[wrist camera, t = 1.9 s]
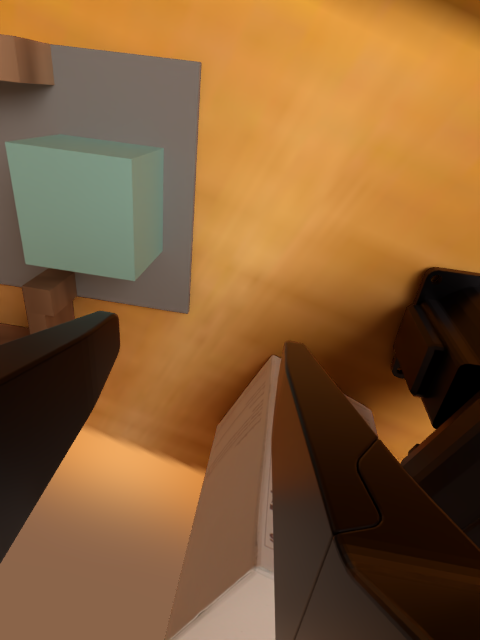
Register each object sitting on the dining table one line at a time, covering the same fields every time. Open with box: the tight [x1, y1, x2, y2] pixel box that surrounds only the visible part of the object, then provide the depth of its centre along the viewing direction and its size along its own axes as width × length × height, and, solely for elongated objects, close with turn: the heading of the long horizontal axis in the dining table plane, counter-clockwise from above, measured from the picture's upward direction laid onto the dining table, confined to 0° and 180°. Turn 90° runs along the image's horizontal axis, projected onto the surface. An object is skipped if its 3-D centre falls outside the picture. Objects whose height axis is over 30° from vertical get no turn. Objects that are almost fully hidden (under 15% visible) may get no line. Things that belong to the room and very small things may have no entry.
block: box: [5, 134, 164, 281], centre depth 18 cm, size 5×5×4 cm
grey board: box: [0, 44, 201, 314], centre depth 20 cm, size 20×12×1 cm, turn 84°
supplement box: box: [164, 355, 378, 640], centre depth 20 cm, size 7×7×13 cm
